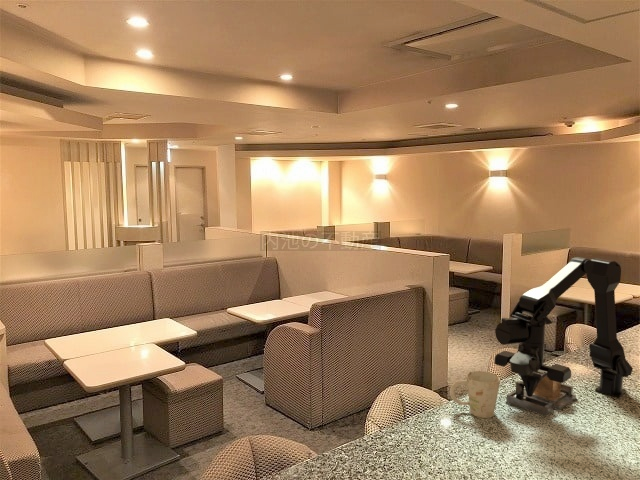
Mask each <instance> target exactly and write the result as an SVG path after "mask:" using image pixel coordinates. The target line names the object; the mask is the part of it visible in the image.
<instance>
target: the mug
mask: <svg viewBox="0 0 640 480" xmlns="http://www.w3.org/2000/svg"><path fill="white" fill-rule="evenodd" d="M500 383H501V378H500V376H499V375H497V374H496V373H493V372H489V371H483V370H474V371H473V370H472V371H469V372H468V373H467V374H466V380H455V381H454V383H452V385H451V386H450V389H449V396H450V398H451V399H452V400H453V402H455V403H457V405H463V406H469V412H470V414H471V415H473V416H475V417H477V418H483V419H488V418H492V417H493V416H494V415H495V410H496V405H497V399H498V395H499V389H500ZM459 386H467V392H468V393H467V394H468V395H467V396H468V401H462V400H460V399H458V398H457V396H456V393H455V391H456V389H457V388H458V387H459Z"/></svg>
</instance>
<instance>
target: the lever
mask: <svg viewBox="0 0 640 480" xmlns="http://www.w3.org/2000/svg"><path fill="white" fill-rule="evenodd" d="M524 389H525V387H524V383H523V381H515V390H514V391H515V395H514V396H513V397H516V398H519V399H522V400H525V401H526V397H524Z"/></svg>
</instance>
